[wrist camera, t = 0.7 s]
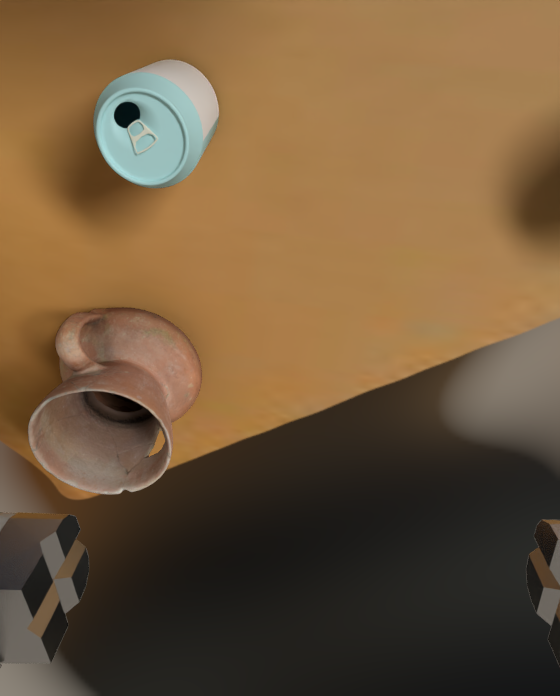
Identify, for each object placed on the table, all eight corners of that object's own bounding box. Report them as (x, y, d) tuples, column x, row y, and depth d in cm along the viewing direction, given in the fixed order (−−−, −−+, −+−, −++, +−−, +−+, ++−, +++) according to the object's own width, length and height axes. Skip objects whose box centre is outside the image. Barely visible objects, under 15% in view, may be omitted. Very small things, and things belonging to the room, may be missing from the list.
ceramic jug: (225, 402, 59) (211, 499, 47) (109, 425, 61) (67, 523, 49) (170, 261, 49) (135, 336, 37) (35, 293, 51) (-40, 374, 39)
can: (125, 134, 43) (76, 172, 33) (143, 43, 39) (95, 54, 29) (205, 165, 44) (182, 211, 34) (230, 80, 40) (213, 103, 30)
